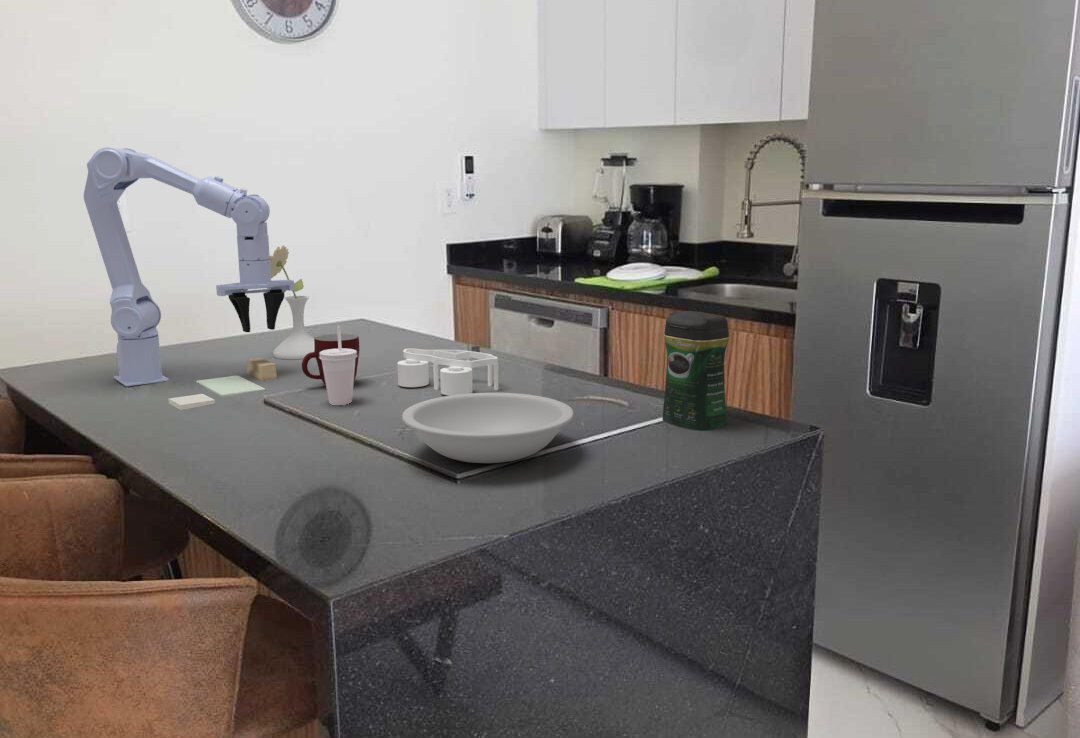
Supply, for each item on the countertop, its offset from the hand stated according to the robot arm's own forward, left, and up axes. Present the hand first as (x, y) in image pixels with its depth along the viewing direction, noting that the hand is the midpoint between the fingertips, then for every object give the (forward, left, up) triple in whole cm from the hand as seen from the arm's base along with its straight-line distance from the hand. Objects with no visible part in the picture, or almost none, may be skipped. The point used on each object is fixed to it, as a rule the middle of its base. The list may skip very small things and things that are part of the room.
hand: (259, 330), depth 181 cm
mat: (+4, -8, -10) cm, 13 cm away
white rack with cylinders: (+32, +23, -10) cm, 40 cm away
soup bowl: (+69, +7, -10) cm, 70 cm away
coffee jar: (+77, +40, -10) cm, 87 cm away
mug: (+17, +7, -10) cm, 21 cm away
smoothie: (+29, +3, -10) cm, 31 cm away
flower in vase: (-14, +13, -10) cm, 22 cm away
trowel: (0, 0, -10) cm, 10 cm away
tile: (+8, -17, -10) cm, 21 cm away
